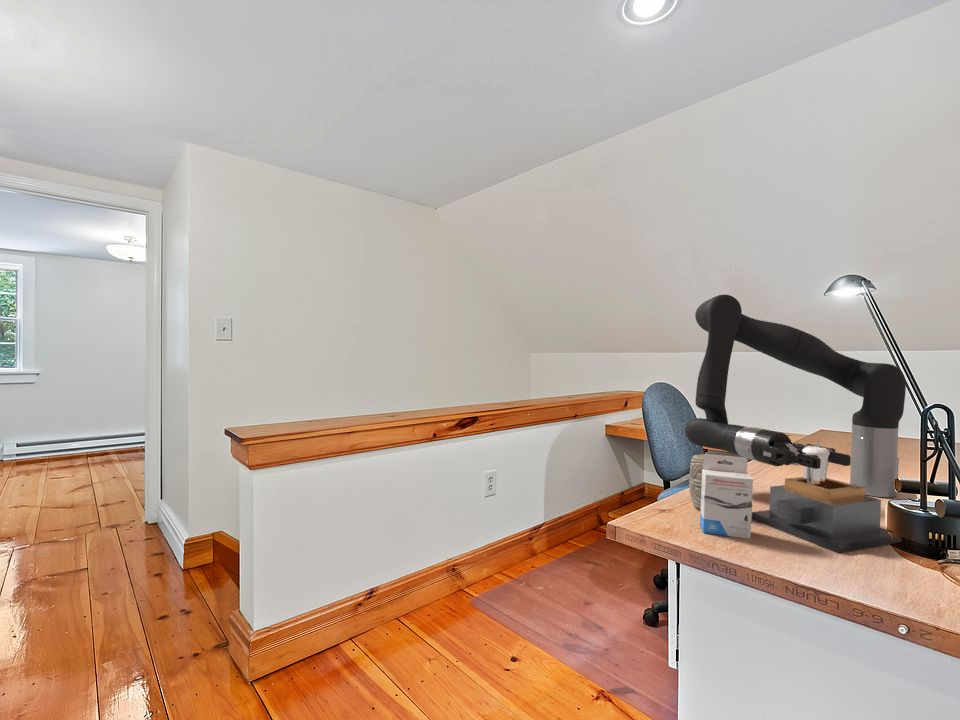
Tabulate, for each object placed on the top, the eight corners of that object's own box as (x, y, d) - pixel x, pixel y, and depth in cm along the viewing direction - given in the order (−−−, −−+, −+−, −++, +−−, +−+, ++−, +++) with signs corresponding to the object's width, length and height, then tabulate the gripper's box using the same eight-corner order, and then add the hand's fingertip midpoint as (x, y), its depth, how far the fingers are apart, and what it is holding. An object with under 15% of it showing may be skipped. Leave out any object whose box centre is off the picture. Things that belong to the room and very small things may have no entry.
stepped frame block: (809, 511, 109) (810, 469, 109) (901, 542, 92) (903, 492, 92) (748, 519, 103) (749, 475, 103) (834, 553, 86) (836, 500, 86)
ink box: (702, 533, 95) (705, 458, 94) (699, 525, 100) (701, 453, 99) (751, 539, 92) (754, 462, 92) (746, 530, 97) (748, 457, 97)
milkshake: (830, 491, 98) (832, 442, 98) (826, 496, 94) (828, 444, 94) (803, 487, 101) (805, 439, 101) (798, 491, 97) (800, 441, 97)
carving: (695, 502, 114) (696, 451, 114) (729, 510, 109) (730, 457, 109) (683, 508, 110) (684, 455, 110) (717, 516, 105) (719, 461, 104)
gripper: (738, 430, 108) (809, 445, 93) (785, 427, 113) (860, 441, 98) (737, 463, 109) (807, 484, 93) (784, 459, 113) (858, 478, 98)
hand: (834, 462), depth 96 cm, fingers open, 8 cm apart
